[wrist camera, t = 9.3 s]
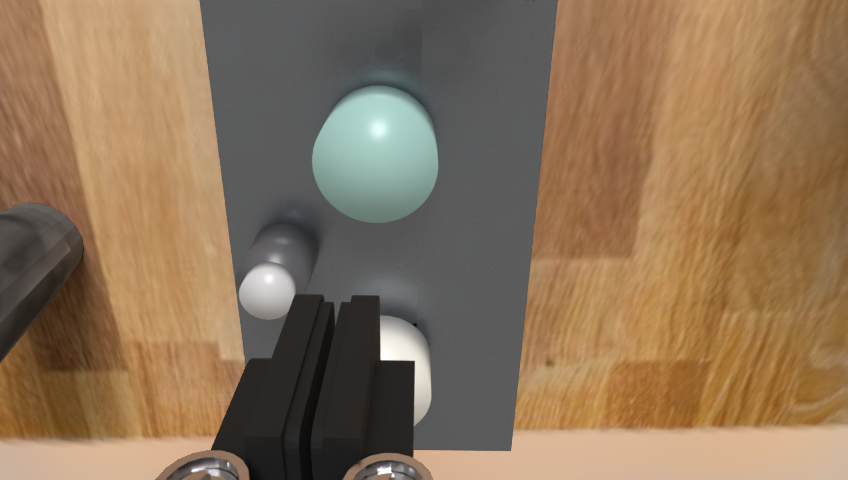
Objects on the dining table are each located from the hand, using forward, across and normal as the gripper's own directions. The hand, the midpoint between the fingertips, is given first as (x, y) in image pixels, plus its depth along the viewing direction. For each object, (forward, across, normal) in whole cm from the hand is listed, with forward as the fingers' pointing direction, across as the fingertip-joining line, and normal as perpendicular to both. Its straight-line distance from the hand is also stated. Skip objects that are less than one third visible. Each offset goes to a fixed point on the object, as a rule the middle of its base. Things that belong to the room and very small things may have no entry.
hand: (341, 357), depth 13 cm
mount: (+21, 0, +6) cm, 21 cm away
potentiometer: (+16, +5, +6) cm, 17 cm away
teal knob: (+20, 0, 0) cm, 20 cm away
